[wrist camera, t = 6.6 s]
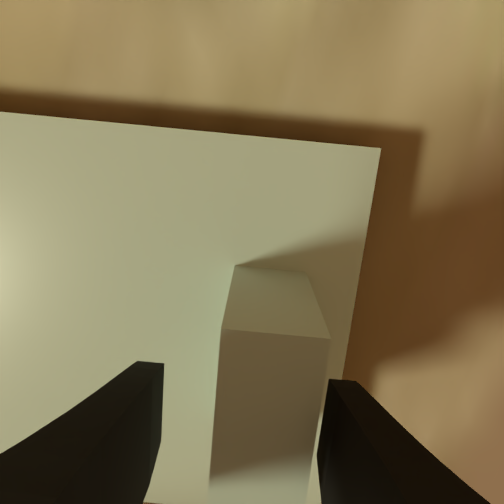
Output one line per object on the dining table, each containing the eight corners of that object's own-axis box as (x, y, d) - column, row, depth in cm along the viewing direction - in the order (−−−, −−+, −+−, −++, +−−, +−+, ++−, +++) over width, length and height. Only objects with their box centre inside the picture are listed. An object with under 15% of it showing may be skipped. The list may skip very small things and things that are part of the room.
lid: (311, 474, 15) (342, 672, 9) (-85, 438, 15) (-297, 615, 9) (363, 148, 12) (456, 146, 6) (-135, 100, 12) (-497, 55, 6)
